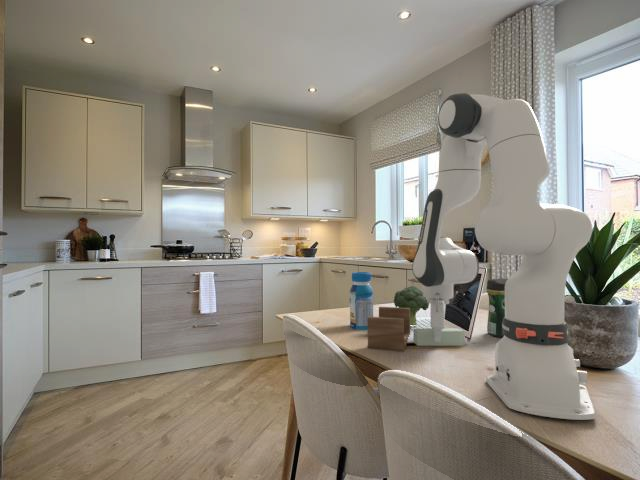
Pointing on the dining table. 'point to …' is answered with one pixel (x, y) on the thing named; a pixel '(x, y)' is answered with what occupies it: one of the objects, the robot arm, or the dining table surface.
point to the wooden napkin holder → (389, 329)
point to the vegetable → (411, 301)
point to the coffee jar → (496, 306)
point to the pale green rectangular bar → (447, 337)
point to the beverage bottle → (361, 300)
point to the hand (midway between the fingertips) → (438, 337)
